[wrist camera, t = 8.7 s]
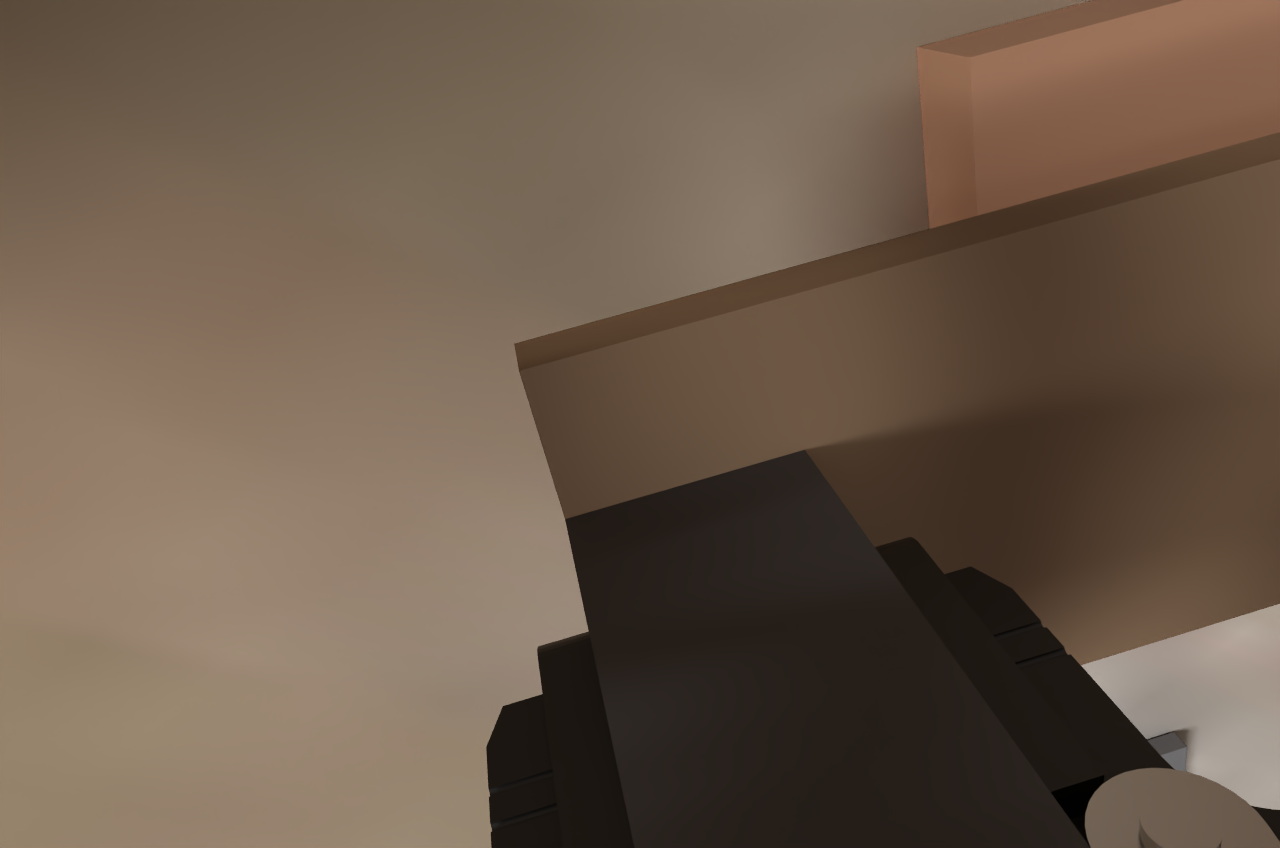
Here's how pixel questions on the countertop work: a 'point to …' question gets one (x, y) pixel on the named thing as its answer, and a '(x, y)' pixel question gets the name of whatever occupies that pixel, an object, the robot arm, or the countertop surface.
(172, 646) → the countertop surface
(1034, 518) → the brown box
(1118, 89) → the tile
